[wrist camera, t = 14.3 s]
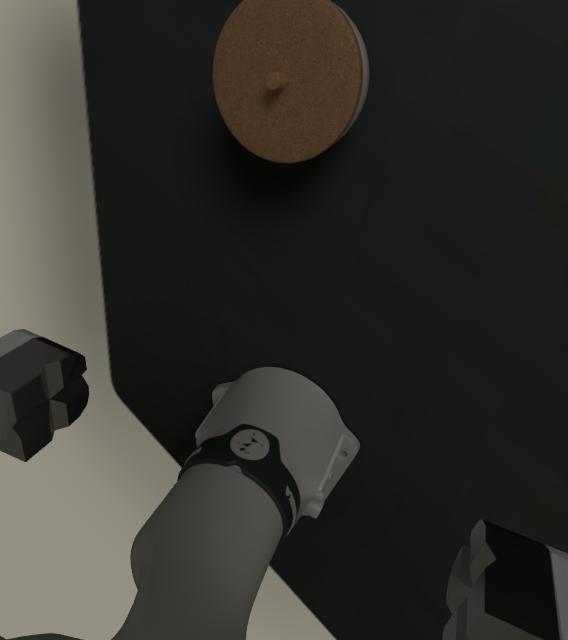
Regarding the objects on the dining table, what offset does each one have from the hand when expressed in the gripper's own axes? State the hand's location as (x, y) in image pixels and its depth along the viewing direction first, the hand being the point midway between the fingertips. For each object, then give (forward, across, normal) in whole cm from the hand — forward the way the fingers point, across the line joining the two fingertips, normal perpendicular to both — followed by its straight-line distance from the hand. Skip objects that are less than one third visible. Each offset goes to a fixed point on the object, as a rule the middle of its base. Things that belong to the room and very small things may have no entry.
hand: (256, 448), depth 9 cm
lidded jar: (+34, +11, -4) cm, 36 cm away
